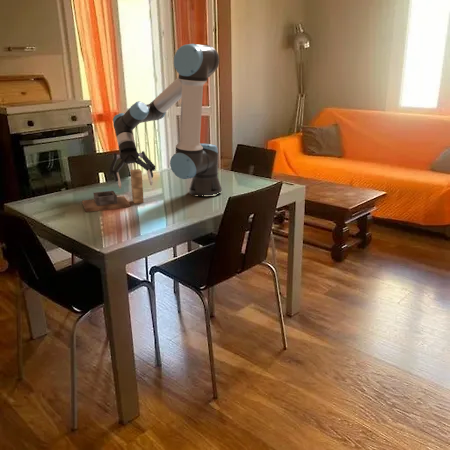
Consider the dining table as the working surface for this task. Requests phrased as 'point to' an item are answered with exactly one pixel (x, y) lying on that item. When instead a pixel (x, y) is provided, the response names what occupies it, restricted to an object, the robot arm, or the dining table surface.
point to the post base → (105, 201)
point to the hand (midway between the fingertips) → (136, 185)
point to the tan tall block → (137, 186)
